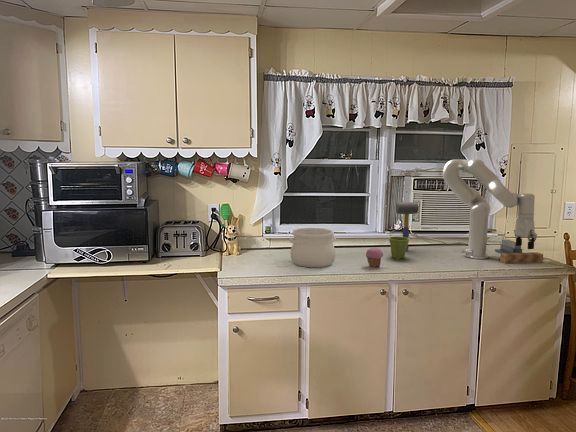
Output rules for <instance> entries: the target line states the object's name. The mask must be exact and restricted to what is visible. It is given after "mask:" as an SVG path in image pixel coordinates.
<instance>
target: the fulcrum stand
mask: <svg viewBox="0 0 576 432" xmlns="http://www.w3.org/2000/svg"><path fill="white" fill-rule="evenodd" d="M494 253H498V254H499V255H501V253H523V248H522V245H521V246H516V241H513V240H510V239H502V240H501V244H500V247H499V248H497V249H494Z"/></svg>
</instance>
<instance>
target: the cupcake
mask: <svg viewBox="0 0 576 432" xmlns="http://www.w3.org/2000/svg"><path fill="white" fill-rule="evenodd" d="M365 257H366V259H367V264H368V265H369V266H370V267H374V268H376V267H380V266H381V261H382V260H381V259H382V258H383V257H384V253H383V250H382V249H381V248H378V247H370V248H368V249H367V250H366V253H365Z"/></svg>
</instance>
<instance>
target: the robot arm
mask: <svg viewBox="0 0 576 432" xmlns="http://www.w3.org/2000/svg"><path fill="white" fill-rule="evenodd" d="M460 174H461V175H462V174H463V175H467V174H468V175H471V176H472V177H474V178H475V179H476V180H477V181H478V182H479V183H480V184H481V185H482V186H483V187H484V188H485V189H486V190H487V191H488V192H489V193H490V194H491V196H493V197H494V198H495V199H496V200H497V201H498V202H499V203H501V205H502V206H504V207H506V208H508V209H510V208H515V207H517V206H518V207H517V219H516V223H515V229H514V230H513V232H514V236H515V237H514V238H515V242H516V246H521V247H522V244H523V238H524V239H527V240H528V241H527V250H534V249H535V242H536V240H537V237H538V233H536V232H535V231H536V229H535V228H536V227H535V219H534V218H535V195H534V194H533V193H517V192H516V193H515V192H511V191H510V189H508V188H507V187H506V186H505V184H504V183H502V181H501V180H500V178H499V176H498V175H496V174H495V173H494V172H493V171H492V170H491V169H490V168H489V167H487V165H485V162H484V161H483V160H481V159H457V158H456V159H455V158H454V159H451V160H449V161H447V162H446V163H445V165H444V167H443V169H442V177H443V180H444V182H445V184H446V185H447V186H448V188H449V189H450V190H451V191H452V193H453V194H454V195H455V196H456V198H458V201H460V202H461V203H462V204H463V205H464V204H465V205H467V206H468V207H469V209H470V210H469V231H468V232H469V233H468V245H467V247H466V248H465V249H460V250H459V254H464V256H465V257H467V258H471V259H475V260H476V259H477V260H485V259H489V258H490V257H489V255H488V254H487V253H486V252H487V244H488V243H487V242H488V241H487V240H488V230H489V229H488V226H489V215H490V212H491V205H490V204H489V202H488V201H487V200H486V199H485V198H484V197H483V195H481V194H480V192H479V191H478V190H477V189H476V188H475V187H472V186H469V185H468V183H466V182H465V180H464V179H463V178H462V177H461V176H460Z"/></svg>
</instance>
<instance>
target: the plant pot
mask: <svg viewBox="0 0 576 432" xmlns="http://www.w3.org/2000/svg"><path fill="white" fill-rule="evenodd" d="M410 240H411V238H406V237H403V236H389V237H388V241H389V245H390V253H391V258H393V259H398V260H400V259H405V257H406V253H407V250H406V249H407V245H408V246H409V241H410Z"/></svg>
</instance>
